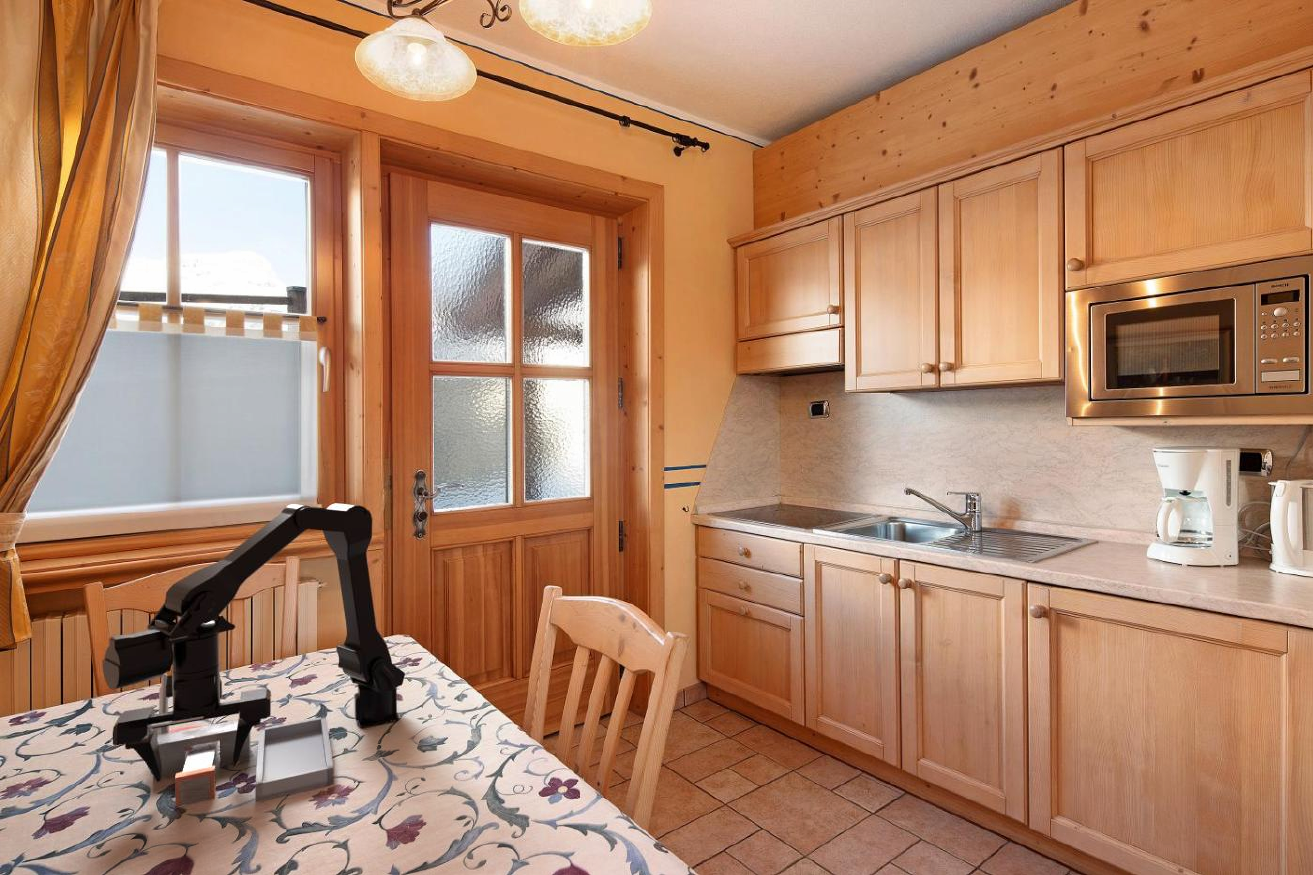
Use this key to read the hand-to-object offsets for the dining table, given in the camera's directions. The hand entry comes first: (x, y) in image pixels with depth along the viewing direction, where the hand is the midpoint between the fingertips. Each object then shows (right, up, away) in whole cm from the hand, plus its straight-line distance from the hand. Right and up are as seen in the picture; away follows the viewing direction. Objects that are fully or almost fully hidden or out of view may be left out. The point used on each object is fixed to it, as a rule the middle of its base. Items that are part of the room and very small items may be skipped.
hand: (198, 772), depth 99 cm
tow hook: (-13, -3, +15) cm, 20 cm away
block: (-4, -3, +8) cm, 9 cm away
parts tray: (+10, -3, +8) cm, 13 cm away
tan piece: (-2, -3, +4) cm, 5 cm away
